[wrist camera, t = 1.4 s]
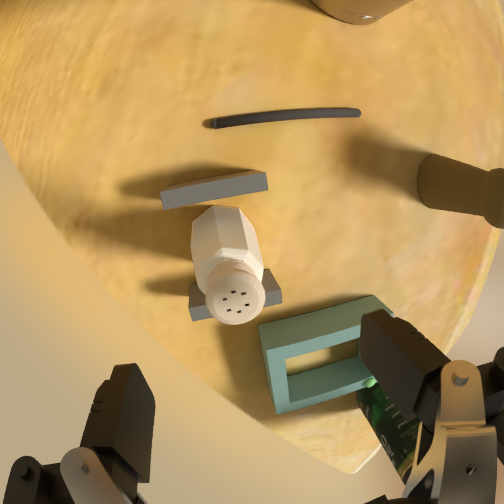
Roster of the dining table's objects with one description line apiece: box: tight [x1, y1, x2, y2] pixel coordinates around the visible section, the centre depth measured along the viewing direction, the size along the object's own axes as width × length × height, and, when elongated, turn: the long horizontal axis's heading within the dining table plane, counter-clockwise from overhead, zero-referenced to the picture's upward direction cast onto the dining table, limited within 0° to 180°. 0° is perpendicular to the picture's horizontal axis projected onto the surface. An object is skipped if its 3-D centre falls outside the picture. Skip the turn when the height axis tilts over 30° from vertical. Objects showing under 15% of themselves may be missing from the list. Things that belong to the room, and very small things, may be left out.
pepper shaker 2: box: [417, 154, 504, 229], centre depth 20 cm, size 6×6×11 cm
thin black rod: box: [211, 108, 361, 129], centre depth 20 cm, size 13×1×1 cm, turn 98°
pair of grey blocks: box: [160, 170, 282, 321], centre depth 21 cm, size 10×7×4 cm
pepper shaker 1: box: [190, 205, 265, 325], centre depth 18 cm, size 5×5×11 cm
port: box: [258, 295, 394, 415], centre depth 27 cm, size 10×13×4 cm
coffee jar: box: [357, 382, 421, 486], centre depth 25 cm, size 10×8×19 cm
